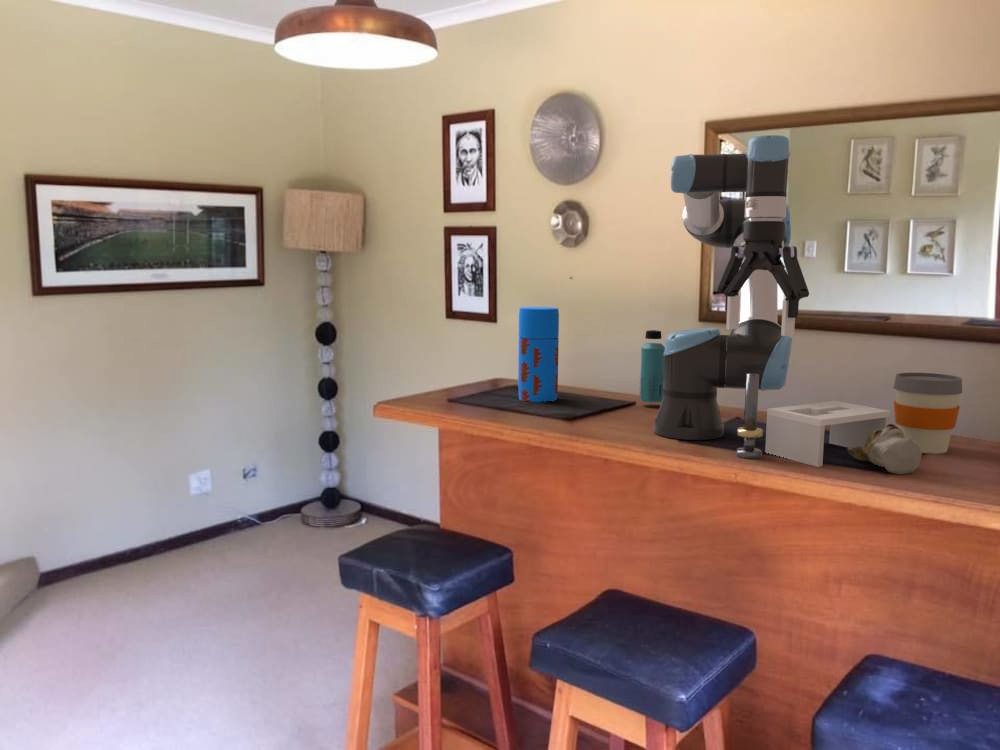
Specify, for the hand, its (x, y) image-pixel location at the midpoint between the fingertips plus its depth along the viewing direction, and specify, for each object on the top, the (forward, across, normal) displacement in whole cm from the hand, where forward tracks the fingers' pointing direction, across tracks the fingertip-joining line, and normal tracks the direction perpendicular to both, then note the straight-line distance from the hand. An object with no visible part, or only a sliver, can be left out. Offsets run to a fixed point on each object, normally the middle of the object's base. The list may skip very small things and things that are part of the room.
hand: (759, 332), depth 161 cm
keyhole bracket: (+25, +6, +14) cm, 29 cm away
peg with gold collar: (+24, 0, -1) cm, 25 cm away
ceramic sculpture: (+25, +19, +15) cm, 35 cm away
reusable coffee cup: (+25, +13, +36) cm, 45 cm away
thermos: (+26, -76, 0) cm, 80 cm away
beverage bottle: (+26, -52, +20) cm, 62 cm away
